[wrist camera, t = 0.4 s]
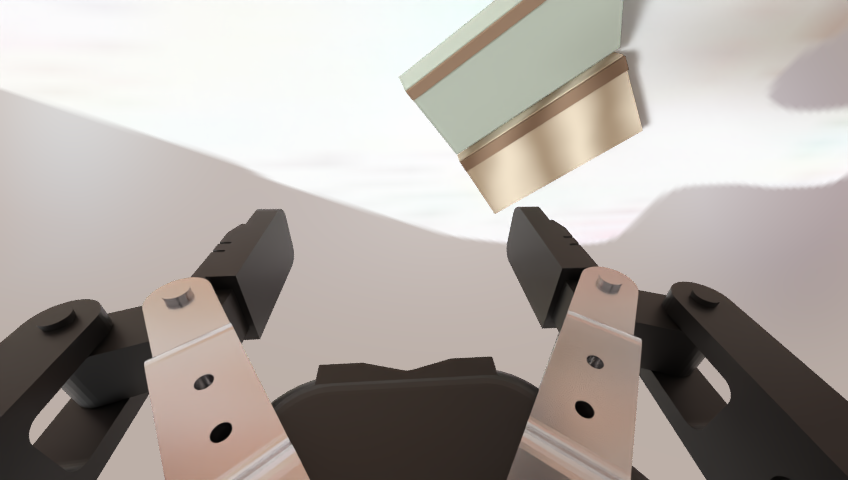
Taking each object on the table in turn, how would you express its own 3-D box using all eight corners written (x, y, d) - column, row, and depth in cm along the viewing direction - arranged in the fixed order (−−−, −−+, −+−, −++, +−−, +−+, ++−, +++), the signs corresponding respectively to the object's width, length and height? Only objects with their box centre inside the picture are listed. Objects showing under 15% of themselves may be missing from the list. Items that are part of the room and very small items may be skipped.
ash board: (613, 52, 28) (625, 55, 26) (633, 125, 32) (644, 131, 30) (457, 154, 33) (459, 162, 31) (491, 206, 37) (495, 215, 36)
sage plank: (613, -95, 19) (631, -84, 18) (609, 37, 27) (620, 48, 26) (399, 77, 24) (405, 91, 23) (451, 143, 32) (457, 155, 31)
